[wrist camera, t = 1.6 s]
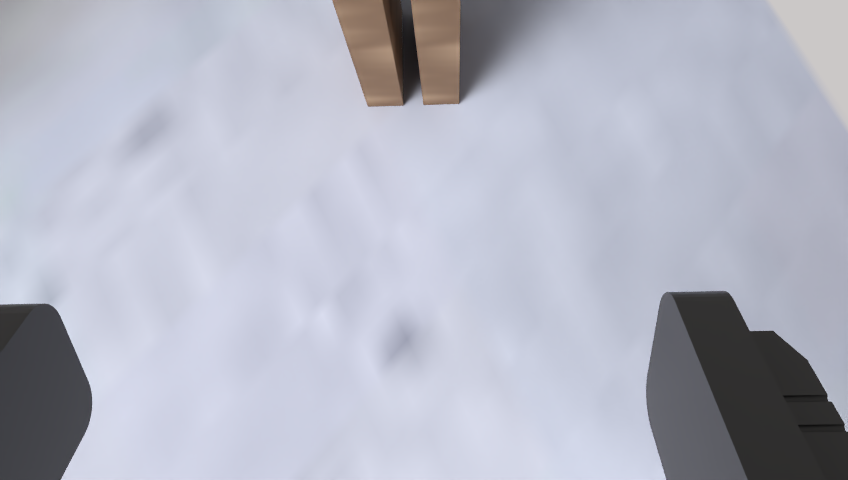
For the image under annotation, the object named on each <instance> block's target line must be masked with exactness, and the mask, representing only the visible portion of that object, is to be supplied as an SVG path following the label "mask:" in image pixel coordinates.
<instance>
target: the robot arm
mask: <svg viewBox="0 0 848 480" xmlns="http://www.w3.org/2000/svg"><path fill="white" fill-rule="evenodd" d="M646 398H647V409H648V416H649V421H650V425H651V429H652V432H653V436H654V439H655V443H656V446H657V449H658V453H659V456H660V459H661V463H662V466H663V469H664V473H665V476H666V480H848V432H846V431H845V428H844V425H845V424H844V422H843V420H842V419H841V417H840V415H839V414H838V412H837V410H836V408H835V407H834V405H833V403H832V402H828V399H827V393H826V391H825V390H824V388H823V386H822V384H821V383H820V381H819V379H818V378H817V376H816V374H815V372H814V371H813V369H812V367H811V366H810V364H809V362H808V360H807V359H805V358H804V357H803V356H802V355H801V354H800V353H798V352H797V351H796V350H795V349H794V348H793V347H791V346H790V345H789V344H788V343H787V342H785V341H784V340H783V339H782V338H781V337H780V336H778V335H777V334H776V333H775V332H774V331H749V329H748V327H747V325H746V323H745V321H744V319H743V317H742V315H741V313H740V311H739V309H738V307H737V305H736V304H735V302H734V300H733V298H732V296H731V295H730V294H729V293H728V292H726V291H705V292H666V293H665V294H664V295H663V296H662V298H661V301H660V306H659V311H658V317H657V323H656V328H655V334H654V340H653V346H652V352H651V357H650V363H649V369H648V375H647V384H646ZM91 411H92V394H91V388H90V385H89V382H88V380H87V377H86V375H85V373H84V370H83V368H82V366H81V363H80V361H79V359H78V356H77V354H76V352H75V349H74V347H73V345H72V343H71V340H70V338H69V336H68V333H67V331H66V329H65V326H64V324H63V322H62V319H61V317H60V315H59V313H58V312H57V310H56V309H55V308H54V307H53V306H51V305H49V304H8V305H0V480H61V478H62V476H63V474H64V472H65V470H66V468H67V466H68V465H69V463H70V461H71V459H72V457H73V455H74V453H75V451H76V449H77V447H78V445H79V444H80V442H81V440H82V438H83V436H84V434H85V432H86V430H87V427H88V425H89V421H90V417H91Z"/></svg>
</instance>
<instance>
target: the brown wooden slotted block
mask: <svg viewBox="0 0 848 480" xmlns="http://www.w3.org/2000/svg"><path fill="white" fill-rule="evenodd" d="M332 1H333V4H334V7H335V10H336V13H337V16H338V19H339V22H340V25H341V28H342V31H343V34H344V37H345V40H346V43H347V46H348V49H349V52H350V55H351V58H352V61H353V64H354V66H355V69H356V72H357V75H358V78H359V81H360V84H361V87H362V90H363V93H364V96H365V99H366V102H367V105H368V106H401V105H403V38H402V7H401V0H332ZM411 6H412V14H413V23H414V31H415V39H416V47H417V55H418V63H419V72H420V80H421V88H422V96H423V104H424V105H434V104H459V74H460V0H411Z"/></svg>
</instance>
